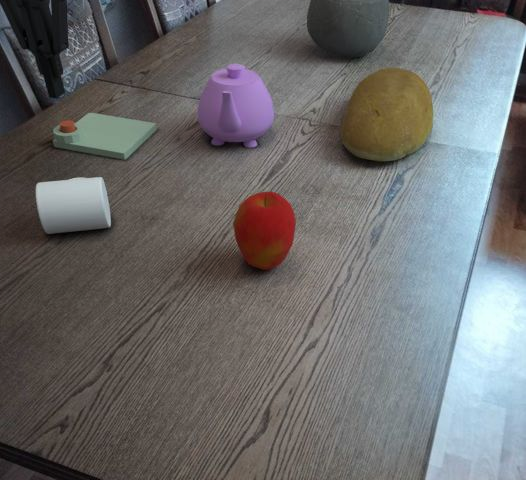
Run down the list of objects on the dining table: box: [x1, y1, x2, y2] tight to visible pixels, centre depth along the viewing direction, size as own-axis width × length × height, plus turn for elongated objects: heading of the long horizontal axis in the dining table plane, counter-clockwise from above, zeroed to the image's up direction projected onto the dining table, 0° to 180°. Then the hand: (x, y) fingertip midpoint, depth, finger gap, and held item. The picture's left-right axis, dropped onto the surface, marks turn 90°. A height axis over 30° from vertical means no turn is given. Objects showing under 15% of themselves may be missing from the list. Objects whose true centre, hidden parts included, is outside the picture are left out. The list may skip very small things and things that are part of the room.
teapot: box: [197, 63, 275, 148], centre depth 109 cm, size 22×16×14 cm
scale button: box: [58, 119, 76, 133], centre depth 109 cm, size 3×3×2 cm
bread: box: [340, 67, 434, 162], centre depth 113 cm, size 18×35×10 cm, turn 167°
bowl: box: [306, 0, 390, 59], centre depth 144 cm, size 21×21×15 cm
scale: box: [52, 112, 158, 161], centre depth 112 cm, size 16×14×3 cm
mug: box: [35, 176, 112, 235], centre depth 90 cm, size 12×10×8 cm
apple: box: [232, 191, 297, 271], centre depth 80 cm, size 9×9×12 cm
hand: (57, 94), depth 94 cm, fingers closed
